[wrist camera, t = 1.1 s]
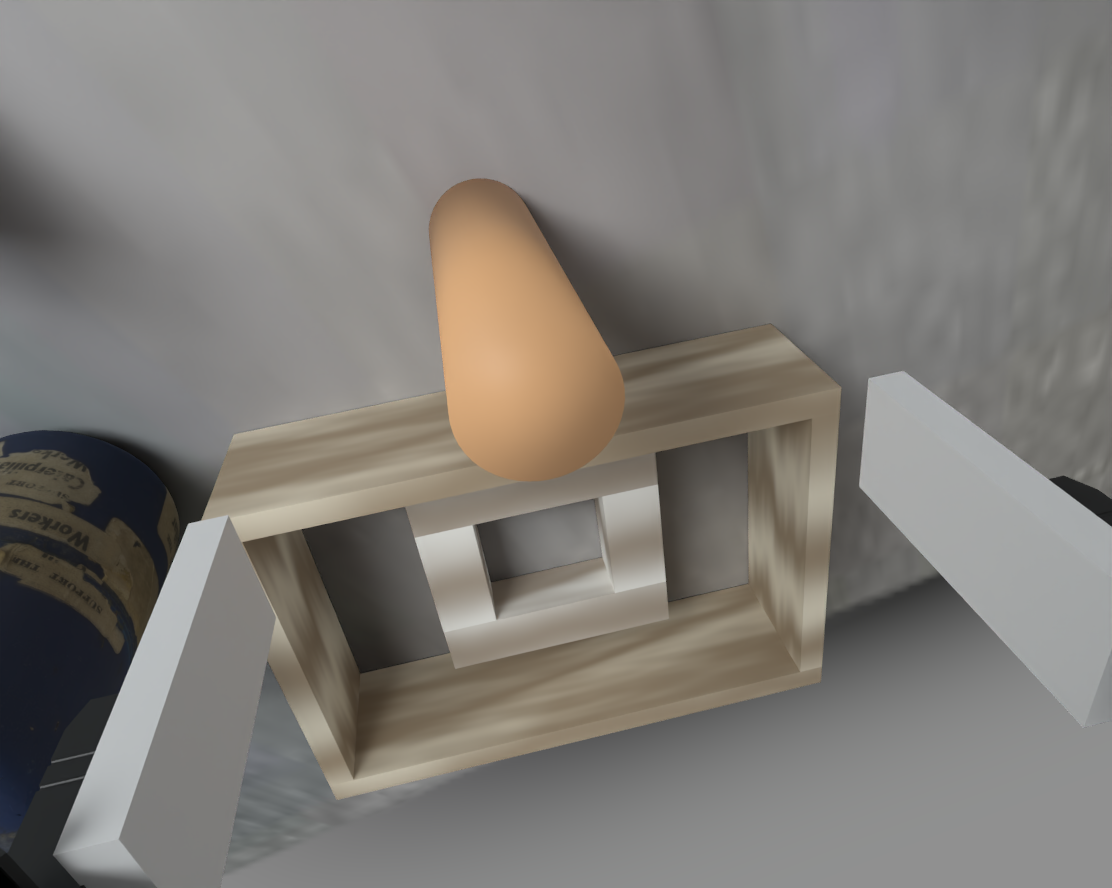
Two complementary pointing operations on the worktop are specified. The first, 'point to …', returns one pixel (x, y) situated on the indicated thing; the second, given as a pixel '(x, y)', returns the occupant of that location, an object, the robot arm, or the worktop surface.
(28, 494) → the canister
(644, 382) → the open box
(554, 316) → the peg
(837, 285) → the worktop surface
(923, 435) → the robot arm
